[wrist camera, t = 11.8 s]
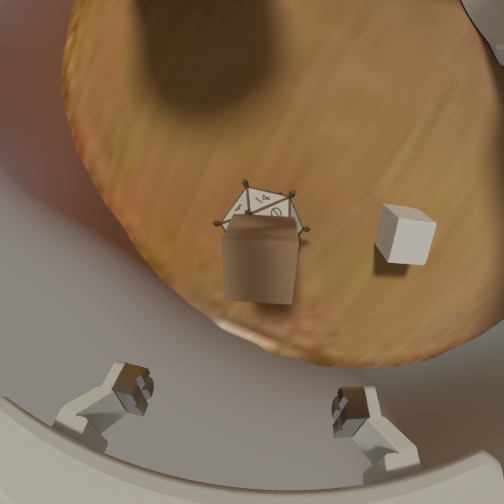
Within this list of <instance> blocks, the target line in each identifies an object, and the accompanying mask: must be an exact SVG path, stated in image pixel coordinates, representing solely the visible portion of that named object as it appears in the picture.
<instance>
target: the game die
mask: <svg viewBox="0 0 504 504" xmlns="http://www.w3.org/2000/svg"><path fill="white" fill-rule="evenodd" d="M243 184H244V186H245V189H244V191H243V192H242V194H241V195H240V196H239V198H238V199H237V200H236V202H235V203H234V205H233V206H232V207H231V209H230V210H229V212H228V213H227V214H226V216H225V217H224V219H223V220H222V221H221V222H219V221H214V222H212V224H213V225H215V226H219V225H221V226H222V228H223V229H224V231H226V229H227V227H228V224H229V222H230V220H231V218H232V216H233V214H248V215H268V216H286V217H295V222H296V227H297V233H298V237H299V235H300V234H301V232H302V231H305V232H308V231H310V230H311V229H310V228H308V227H302V224H301V222H300V219H299V217H298V215H297V212H296V210H295V208H294V205H293V203H292V200H291V198H292V197H293V196H295V191H296V190H295V191H291V192H290V193H289V195H288V196H287V195H283V194H282V193H274V192H270V191H266V190H261V189H257V188H252V187H249V186H248V184H249V183H248V181H246V180H245V179H243Z"/></svg>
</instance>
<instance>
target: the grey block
mask: <svg viewBox="0 0 504 504" xmlns="http://www.w3.org/2000/svg"><path fill="white" fill-rule="evenodd" d="M436 224H437V223H435V222H434V221H433V220H432V219H430V218H429V217H428V216H426V215H425V214H424V213H422V212H421V211H420V210H418V209H416V208H409V207H403V206H396V205H389V204H382V208H381V213H380V218H379V223H378V228H377V232H376V237H375V242H374V243H375V245H376V246H377V248H378V249H379V250H380V252H381V253H382V255H383V256H384V258H385V259H386V261H387V262H388V263H402V264H417V265H425V262H426V259H427V256H428V253H429V250H430V246H431V243H432V239H433V236H434V232H435V228H436Z"/></svg>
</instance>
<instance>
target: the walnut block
mask: <svg viewBox="0 0 504 504" xmlns="http://www.w3.org/2000/svg"><path fill="white" fill-rule="evenodd" d="M298 249H299V239H298V233H297V227H296V222H295V217H286V216H268V215H248V214H233V216H232V218H231V220H230V222H229V224H228V227H227V229H226V231H225V233H224V235H223V238H222V253H223V281H224V300H227V301H240V302H254V303H270V304H288V305H292V300H293V292H294V284H295V276H296V267H297V258H298Z"/></svg>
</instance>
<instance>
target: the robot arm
mask: <svg viewBox="0 0 504 504" xmlns="http://www.w3.org/2000/svg"><path fill="white" fill-rule="evenodd" d="M461 1H462V3H463V5H464V7H465V9H466V11H467V13H468V15H469V16H470V18H471V19H472V21H473V22H474V24H475V25H476V27H477V28H478V30H479V31H480V32H481V34H482V35H483V36H484V37H485V39H486V40H487V41H488V43H489V44H490V46H491V48H492V50H493V53H494V55H495V57H496V59H497V60H498V62H499V63H500V64H501V65H502V66H504V0H461ZM149 374H150V372H149V370H148V368H144V367H140V366H136V365H132V364H129V363H125V362H121V361H116V362H115V363H114V365H113V366H112V368H111V370H110V372H109V374H108V375H107V377H106V379H105V381H104V383H103V384H102V386H98V387H96V388H94V389H92V390H91V391H89V392H87V393H86V394H84V395H82V396H81V397H79V398H77V399H75V400H74V401H72V402H70V403H68V404H66V405H65V406H63V407H62V409H61V411H60V412H59V414H58V416H57V418H56V420H55V422H54V424H53V425H52V427H51V426H49V425H47V424H46V423H44V422H43V421H41V420H39V419H38V418H36V417H34V416H33V415H31V414H30V413H28V412H27V411H25V410H24V409H22V408H21V407H19V406H18V405H17V404H15V403H14V402H13V401H11V400H10V399H9V398H7V397H0V504H504V479H503V473H502V469H501V466H500V463H499V462H498V461H497V460H496V459H495V458H494V457H492V456H491V455H489V454H488V453H487V452H485V451H483V450H477V451H475V452H472V453H470V454H468V455H465V456H463V457H461V458H458V459H456V460H453V461H450V462H448V463H445V464H442V465H440V466H437V467H434V468H431V469H428V470H425V471H421V467H420V462H419V457H418V453H417V448H416V446H415V445H414V444H413V443H412V442H410V440H408V439H407V438H406V437H405V436H404V435H403V434H402V433H401V432H400V431H399V430H398V429H397V428H396V427H395V426H394V425H393V424H392V423H391V422H390V421H389V420H388V419H387V418H386V417H382V415H381V411H380V407H379V402H378V398H377V394H376V390H375V387H374V386H366V387H365V386H364V387H362V386H360V387H342V388H340V389H339V390H338V392H337V393H338V396H336V397H335V398H334V400H333V404H332V417H333V418H334V419H335V420H336V421H335V423H334V424H333V431H334V438H339V437H352V438H353V440H354V441H355V442H356V443H357V445H358V446H359V447H360V449H361V450H362V451H363V453H364V454H365V455H366V457H367V458H368V459H369V460H370V462H371V463H372V464H373V466H371V467H370V468H368V469H367V470H366V471H365V472H364V473H363V483H364V485H358V486H351V487H342V488H332V489H320V490H261V489H248V488H247V489H246V488H237V487H229V486H222V485H215V484H209V483H203V482H198V481H193V480H188V479H184V478H179V477H175V476H171V475H167V474H164V473H160V472H156V471H153V470H150V469H146V468H143V467H140V466H137V465H134V464H131V463H128V462H126V461H123V460H120V459H118V458H115V457H113V456H110V455H108V454H105V453H104V452H105V450H106V447H107V445H108V442H107V440H106V439H105V438H104V437H102V435H101V433H102V432H104V431H105V430H106V429H108V427H110V426H111V425H113V424H114V423H115V422H116V421H118V420H119V419H120V418H121V417H123V416H124V415H125V414H126V413H127V412H129V413H133V414H136V415H140V416H144V414H145V411H146V409H147V406H148V404H147V401H146V400H148V399H149V398H151V396H152V394H153V389H154V383H153V380H152V378H150V376H149Z"/></svg>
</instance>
